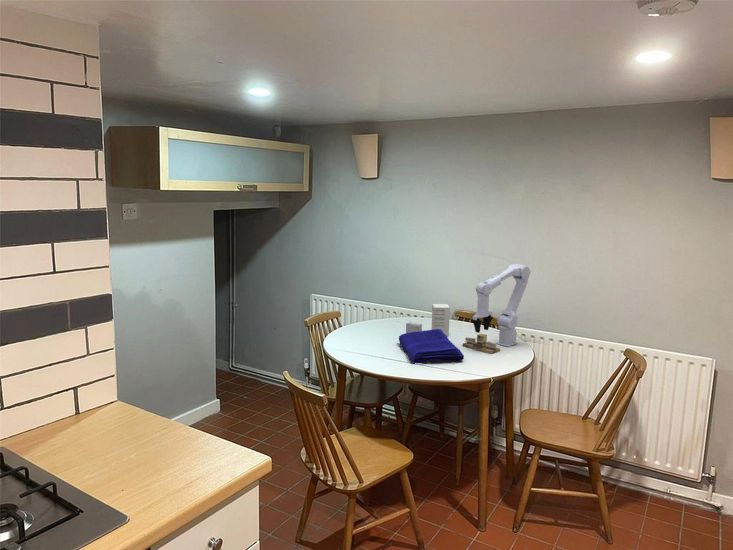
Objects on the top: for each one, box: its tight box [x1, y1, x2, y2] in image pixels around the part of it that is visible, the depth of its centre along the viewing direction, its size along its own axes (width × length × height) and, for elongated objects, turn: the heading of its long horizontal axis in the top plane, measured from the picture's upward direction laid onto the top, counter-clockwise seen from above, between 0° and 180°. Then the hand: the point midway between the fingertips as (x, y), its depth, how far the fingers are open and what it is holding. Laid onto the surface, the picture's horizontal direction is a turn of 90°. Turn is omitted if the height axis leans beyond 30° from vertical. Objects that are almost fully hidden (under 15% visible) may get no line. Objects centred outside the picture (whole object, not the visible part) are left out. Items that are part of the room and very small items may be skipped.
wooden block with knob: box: [476, 333, 488, 347], centre depth 283 cm, size 4×4×6 cm
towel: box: [398, 329, 465, 364], centre depth 276 cm, size 26×36×9 cm
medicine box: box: [405, 321, 423, 334], centre depth 300 cm, size 8×4×9 cm, turn 59°
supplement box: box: [431, 303, 451, 337], centre depth 309 cm, size 10×9×17 cm
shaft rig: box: [462, 336, 501, 355], centre depth 283 cm, size 8×18×4 cm, turn 43°
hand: (481, 331), depth 283 cm, fingers open, 7 cm apart
